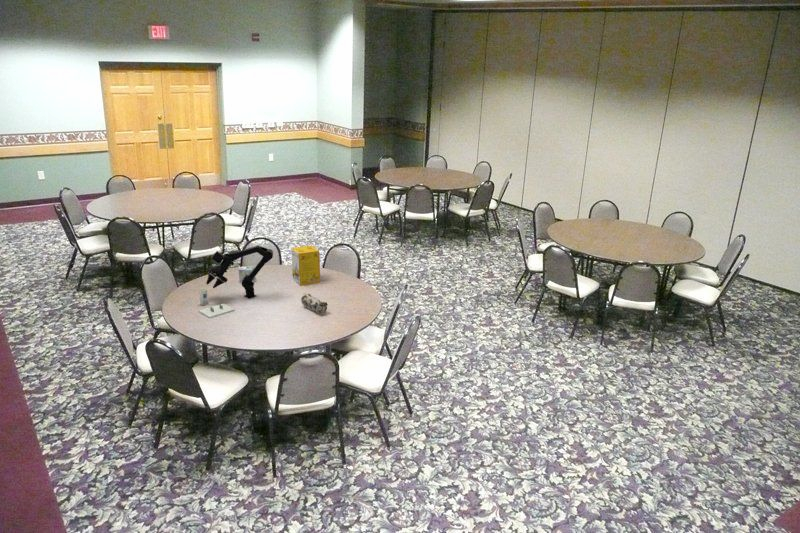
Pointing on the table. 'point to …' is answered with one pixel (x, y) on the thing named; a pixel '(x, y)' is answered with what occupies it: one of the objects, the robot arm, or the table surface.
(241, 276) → the light bulb box
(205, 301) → the block
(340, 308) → the table surface
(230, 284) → the table surface
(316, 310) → the pencil case
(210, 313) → the pin tray
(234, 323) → the table surface
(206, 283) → the robot arm
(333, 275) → the table surface
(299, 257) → the packaging box
